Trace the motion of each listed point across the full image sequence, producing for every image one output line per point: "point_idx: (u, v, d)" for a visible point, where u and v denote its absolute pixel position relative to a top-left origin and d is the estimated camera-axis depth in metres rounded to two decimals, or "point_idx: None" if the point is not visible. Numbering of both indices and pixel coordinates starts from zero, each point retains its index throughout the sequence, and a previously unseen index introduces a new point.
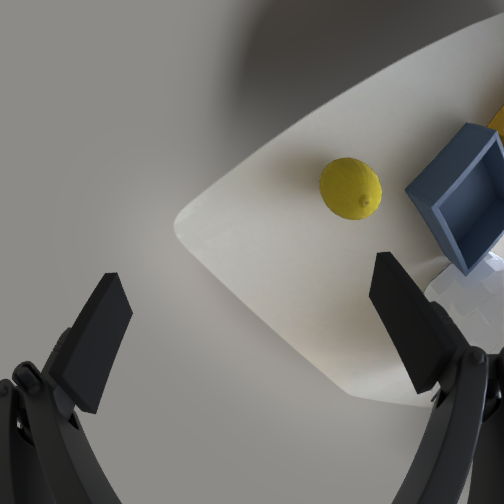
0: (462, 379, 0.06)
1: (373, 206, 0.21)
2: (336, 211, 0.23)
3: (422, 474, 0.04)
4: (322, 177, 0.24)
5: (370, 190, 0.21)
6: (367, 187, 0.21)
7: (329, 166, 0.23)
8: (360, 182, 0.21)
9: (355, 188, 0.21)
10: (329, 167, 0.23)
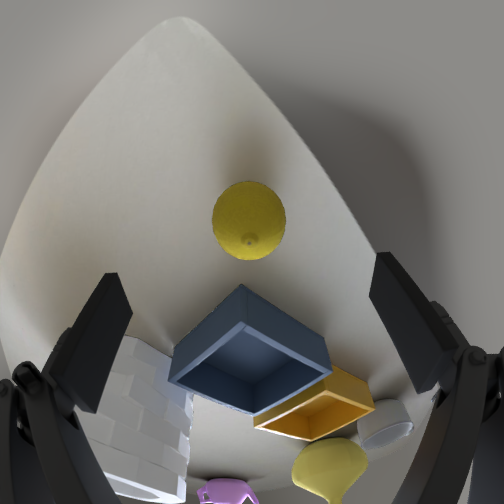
0: (462, 379, 0.06)
1: (241, 252, 0.19)
2: (224, 206, 0.19)
3: (422, 474, 0.04)
4: (258, 184, 0.20)
5: (263, 245, 0.18)
6: (266, 241, 0.18)
7: (272, 191, 0.20)
8: (271, 231, 0.18)
9: (263, 226, 0.18)
10: (272, 191, 0.20)
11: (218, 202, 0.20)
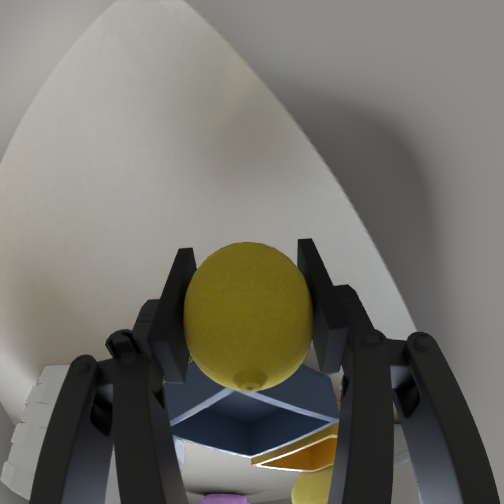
0: (357, 367, 0.07)
1: (235, 389, 0.10)
2: (200, 310, 0.09)
3: (341, 471, 0.05)
4: (266, 254, 0.11)
5: (274, 382, 0.09)
6: (281, 376, 0.09)
7: (292, 265, 0.11)
8: (291, 360, 0.09)
9: (277, 358, 0.09)
10: (291, 268, 0.11)
11: (191, 292, 0.10)
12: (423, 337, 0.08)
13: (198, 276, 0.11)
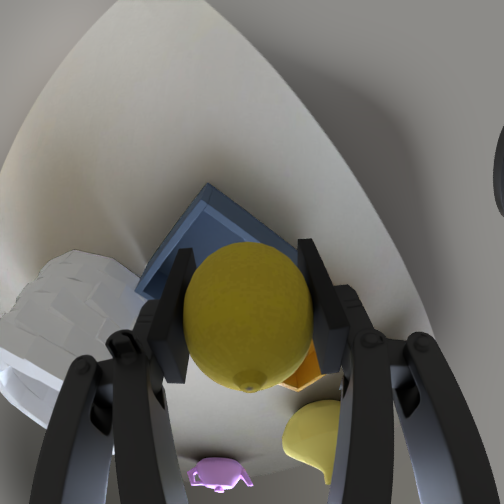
0: (357, 367, 0.07)
1: (235, 389, 0.09)
2: (199, 310, 0.09)
3: (341, 471, 0.05)
4: (266, 253, 0.11)
5: (274, 382, 0.09)
6: (281, 376, 0.09)
7: (292, 265, 0.11)
8: (290, 360, 0.09)
9: (276, 358, 0.09)
10: (291, 267, 0.11)
11: (191, 292, 0.10)
12: (423, 337, 0.08)
13: (198, 276, 0.11)
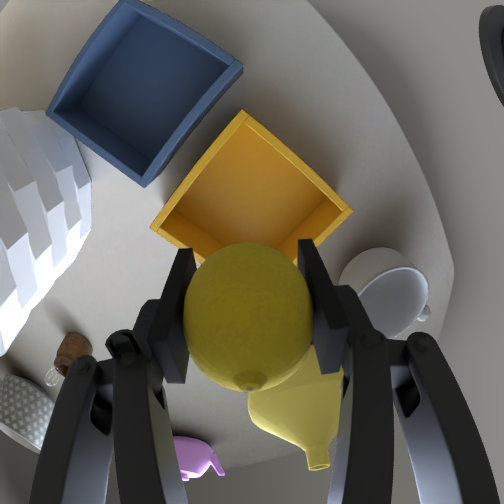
0: (357, 367, 0.07)
1: None
2: (200, 311, 0.09)
3: (341, 471, 0.05)
4: (266, 254, 0.11)
5: (274, 382, 0.09)
6: (281, 377, 0.09)
7: (292, 266, 0.11)
8: (290, 361, 0.09)
9: (277, 358, 0.09)
10: (292, 268, 0.11)
11: (191, 292, 0.10)
12: (423, 337, 0.08)
13: (198, 276, 0.11)
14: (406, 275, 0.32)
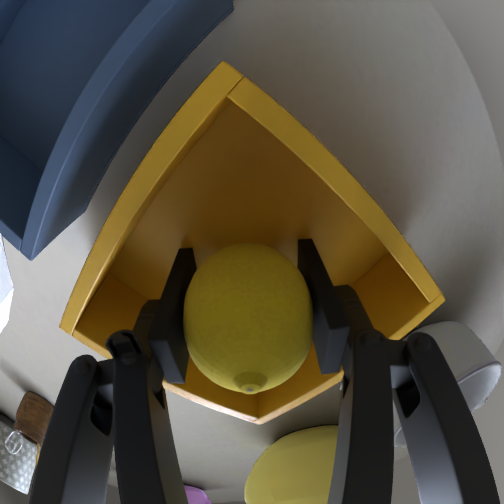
0: (357, 367, 0.07)
1: (235, 390, 0.09)
2: (200, 312, 0.09)
3: (341, 471, 0.05)
4: (266, 254, 0.11)
5: (275, 383, 0.09)
6: (281, 377, 0.09)
7: (292, 266, 0.11)
8: (291, 362, 0.09)
9: (277, 359, 0.09)
10: (292, 268, 0.11)
11: (191, 293, 0.10)
12: (423, 337, 0.08)
13: (198, 277, 0.11)
14: None
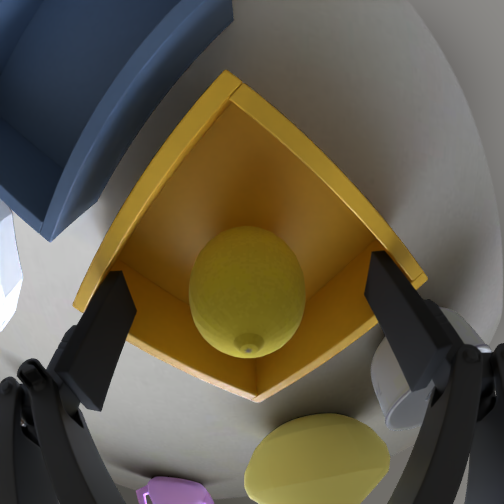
0: (456, 377, 0.06)
1: (235, 355, 0.11)
2: (205, 282, 0.11)
3: (417, 473, 0.04)
4: (262, 234, 0.12)
5: (270, 347, 0.11)
6: (276, 341, 0.11)
7: (285, 245, 0.13)
8: (284, 326, 0.11)
9: (272, 322, 0.10)
10: (285, 247, 0.13)
11: (196, 268, 0.12)
12: None
13: (203, 254, 0.12)
14: None
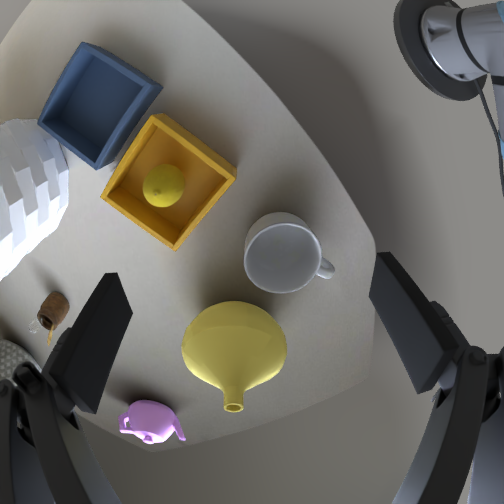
0: (462, 379, 0.06)
1: (154, 201, 0.32)
2: (146, 177, 0.32)
3: (422, 474, 0.04)
4: (168, 164, 0.34)
5: (164, 196, 0.32)
6: (166, 193, 0.32)
7: (176, 168, 0.34)
8: (168, 188, 0.32)
9: (163, 185, 0.32)
10: (175, 168, 0.34)
11: (146, 176, 0.33)
12: None
13: None
14: (309, 237, 0.41)
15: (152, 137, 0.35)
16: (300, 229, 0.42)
